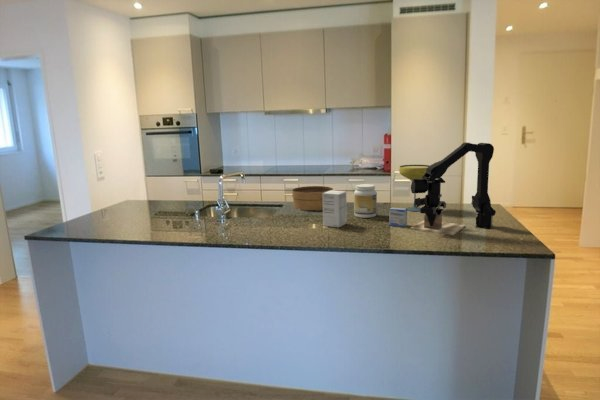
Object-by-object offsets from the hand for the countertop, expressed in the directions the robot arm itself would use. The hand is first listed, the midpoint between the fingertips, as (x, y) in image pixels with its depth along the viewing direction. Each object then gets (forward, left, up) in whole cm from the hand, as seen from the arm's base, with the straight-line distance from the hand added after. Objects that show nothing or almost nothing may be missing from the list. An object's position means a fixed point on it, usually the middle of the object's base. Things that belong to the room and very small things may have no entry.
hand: (432, 225), depth 199 cm
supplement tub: (+41, -10, -2) cm, 42 cm away
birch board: (-1, -4, -2) cm, 4 cm away
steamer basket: (+81, -17, -2) cm, 83 cm away
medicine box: (+17, +1, -2) cm, 17 cm away
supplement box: (+45, +15, -2) cm, 48 cm away
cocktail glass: (+24, -38, -2) cm, 45 cm away
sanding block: (0, 0, -1) cm, 1 cm away
